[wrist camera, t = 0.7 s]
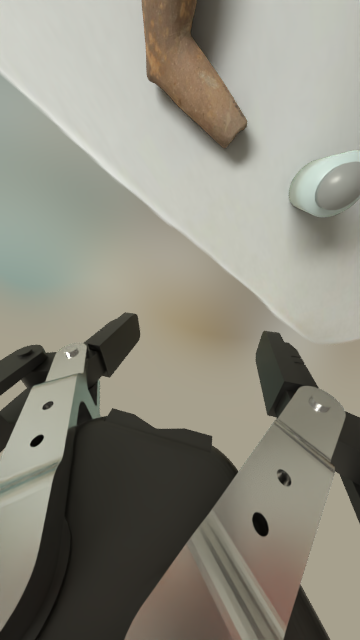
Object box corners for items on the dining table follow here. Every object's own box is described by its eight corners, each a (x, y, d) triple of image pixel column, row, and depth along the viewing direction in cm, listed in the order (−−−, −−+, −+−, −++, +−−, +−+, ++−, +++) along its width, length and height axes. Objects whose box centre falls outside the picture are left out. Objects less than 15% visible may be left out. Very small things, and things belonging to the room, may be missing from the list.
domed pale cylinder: (287, 173, 22) (309, 169, 15) (338, 148, 19) (390, 132, 13) (289, 214, 24) (308, 227, 18) (333, 197, 22) (375, 205, 15)
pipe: (221, 163, 20) (313, 8, 12) (100, 39, 16) (119, -293, 8) (229, 158, 24) (302, 38, 16) (133, 57, 20) (167, -160, 12)
